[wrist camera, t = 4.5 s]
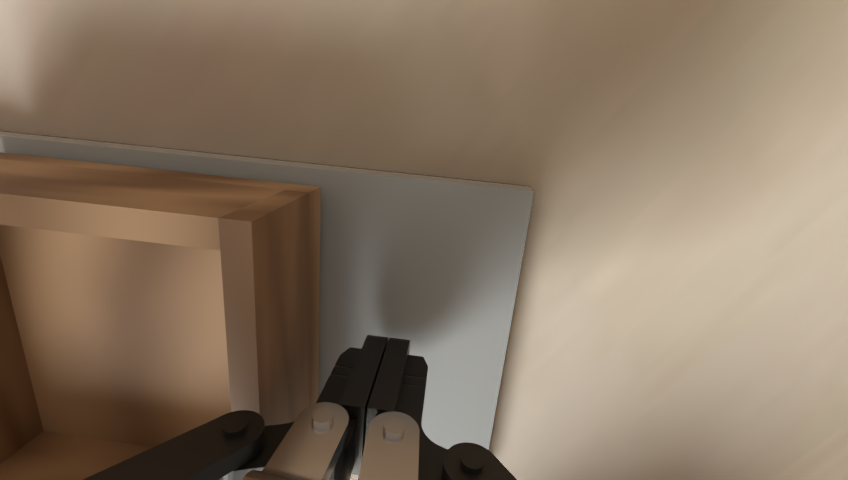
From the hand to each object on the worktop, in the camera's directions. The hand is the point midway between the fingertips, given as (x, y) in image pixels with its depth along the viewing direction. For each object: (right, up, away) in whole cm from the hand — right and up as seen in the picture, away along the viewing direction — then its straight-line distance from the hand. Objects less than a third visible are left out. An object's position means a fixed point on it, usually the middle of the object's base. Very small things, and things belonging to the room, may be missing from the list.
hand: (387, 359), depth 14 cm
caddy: (-8, +1, +1) cm, 8 cm away
